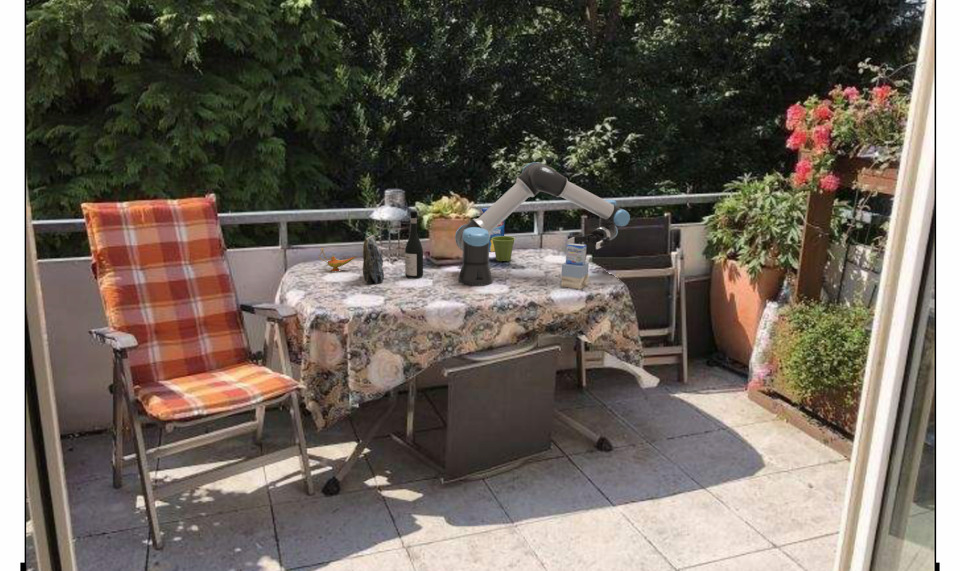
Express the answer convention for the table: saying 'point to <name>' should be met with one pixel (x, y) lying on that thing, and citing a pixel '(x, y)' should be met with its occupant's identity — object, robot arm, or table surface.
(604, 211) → the robot arm
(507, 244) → the plant pot
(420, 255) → the wine bottle
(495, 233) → the beverage box
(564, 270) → the tower top block
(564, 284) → the tower base block
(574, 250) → the medicine box
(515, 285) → the table surface
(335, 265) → the magic lamp
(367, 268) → the stone block
